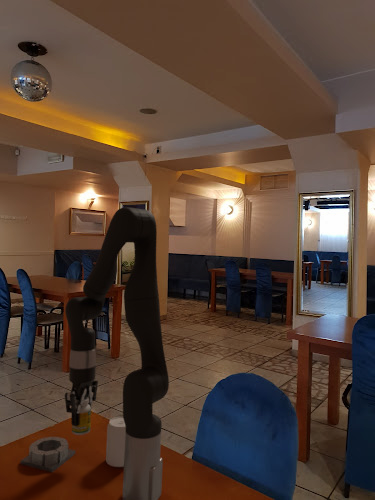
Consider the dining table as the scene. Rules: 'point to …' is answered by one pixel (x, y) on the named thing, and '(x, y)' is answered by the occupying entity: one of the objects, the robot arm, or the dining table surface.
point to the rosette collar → (48, 454)
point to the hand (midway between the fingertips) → (81, 421)
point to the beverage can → (116, 442)
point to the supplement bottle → (83, 419)
